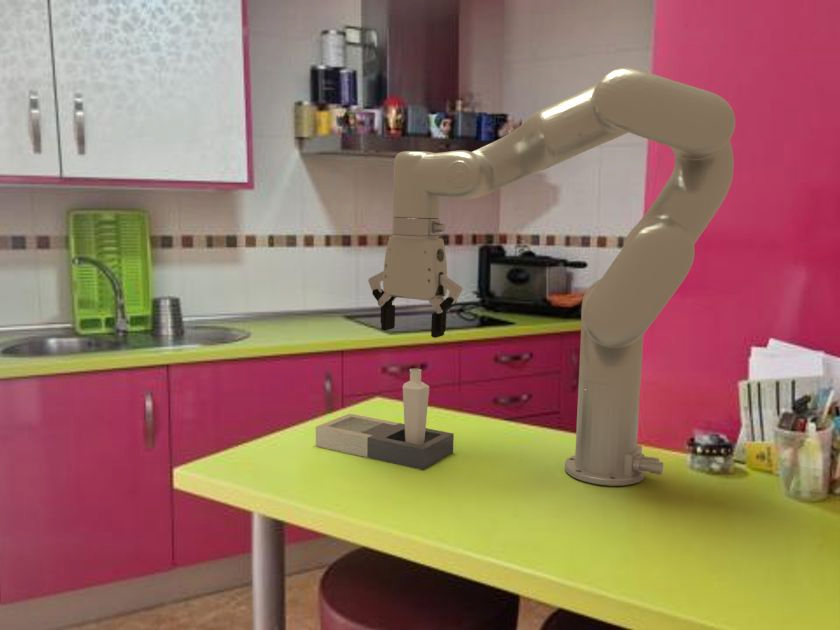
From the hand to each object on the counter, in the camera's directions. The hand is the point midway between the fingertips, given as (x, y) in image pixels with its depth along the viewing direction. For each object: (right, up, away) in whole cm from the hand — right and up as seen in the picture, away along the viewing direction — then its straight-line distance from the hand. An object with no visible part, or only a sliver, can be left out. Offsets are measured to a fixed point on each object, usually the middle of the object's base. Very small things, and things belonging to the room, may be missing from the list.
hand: (412, 332), depth 128 cm
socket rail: (-5, -20, +6) cm, 22 cm away
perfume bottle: (0, -21, +3) cm, 21 cm away
